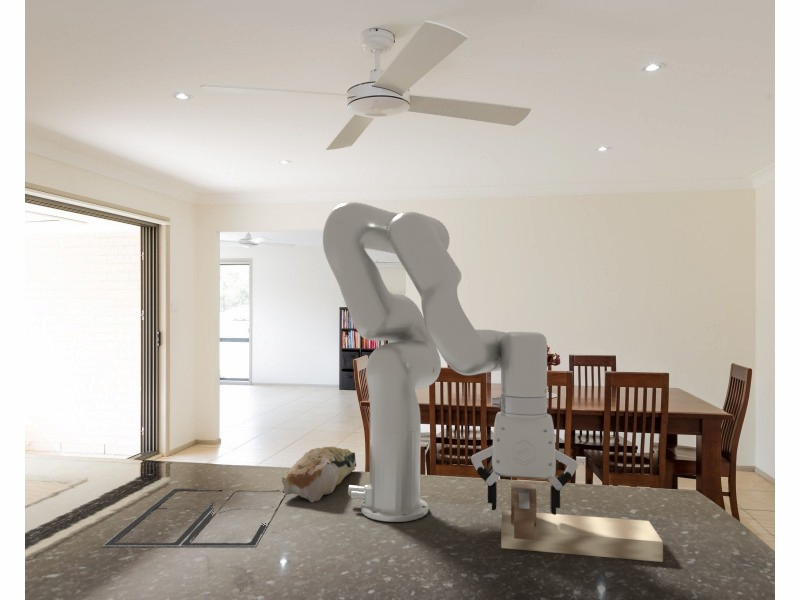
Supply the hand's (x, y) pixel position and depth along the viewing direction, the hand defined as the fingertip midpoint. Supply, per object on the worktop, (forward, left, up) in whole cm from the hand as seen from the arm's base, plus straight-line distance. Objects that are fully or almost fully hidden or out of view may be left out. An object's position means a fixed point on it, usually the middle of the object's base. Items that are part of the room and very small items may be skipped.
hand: (523, 509), depth 94 cm
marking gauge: (0, -2, -2) cm, 3 cm away
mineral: (-41, +22, -5) cm, 47 cm away
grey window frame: (-57, 0, -5) cm, 57 cm away
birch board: (+8, 0, -5) cm, 10 cm away
